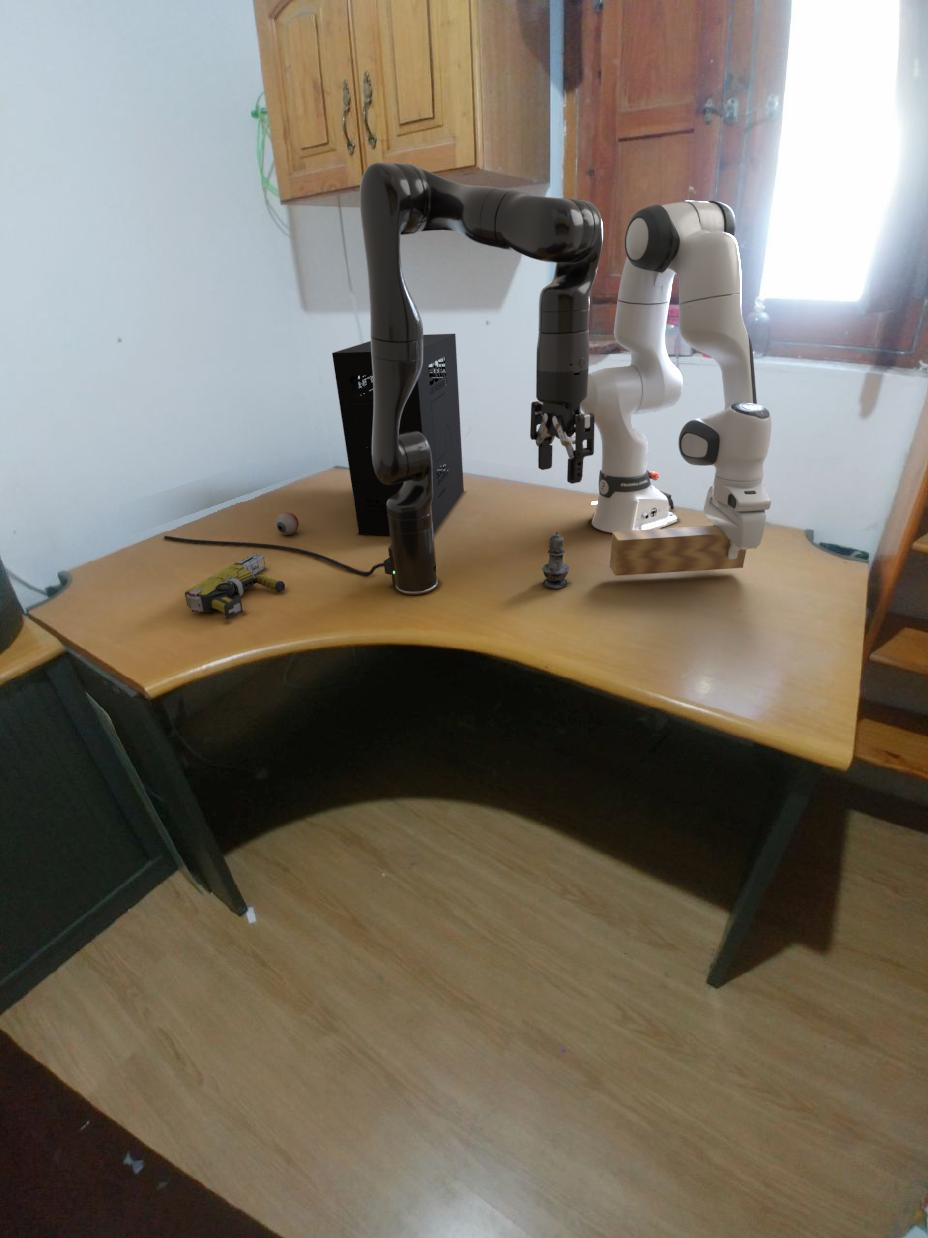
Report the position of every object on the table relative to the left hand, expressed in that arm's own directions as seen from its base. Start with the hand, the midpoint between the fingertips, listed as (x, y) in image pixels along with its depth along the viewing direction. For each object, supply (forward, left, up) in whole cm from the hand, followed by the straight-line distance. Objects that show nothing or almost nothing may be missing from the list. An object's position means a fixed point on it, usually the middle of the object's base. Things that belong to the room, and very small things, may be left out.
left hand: (559, 475), depth 96 cm
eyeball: (-88, +12, -31) cm, 94 cm away
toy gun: (-68, -17, -31) cm, 76 cm away
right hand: (+18, +42, -26) cm, 53 cm away
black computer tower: (-68, +42, -31) cm, 86 cm away
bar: (+10, +36, -29) cm, 47 cm away
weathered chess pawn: (-11, +21, -31) cm, 39 cm away
